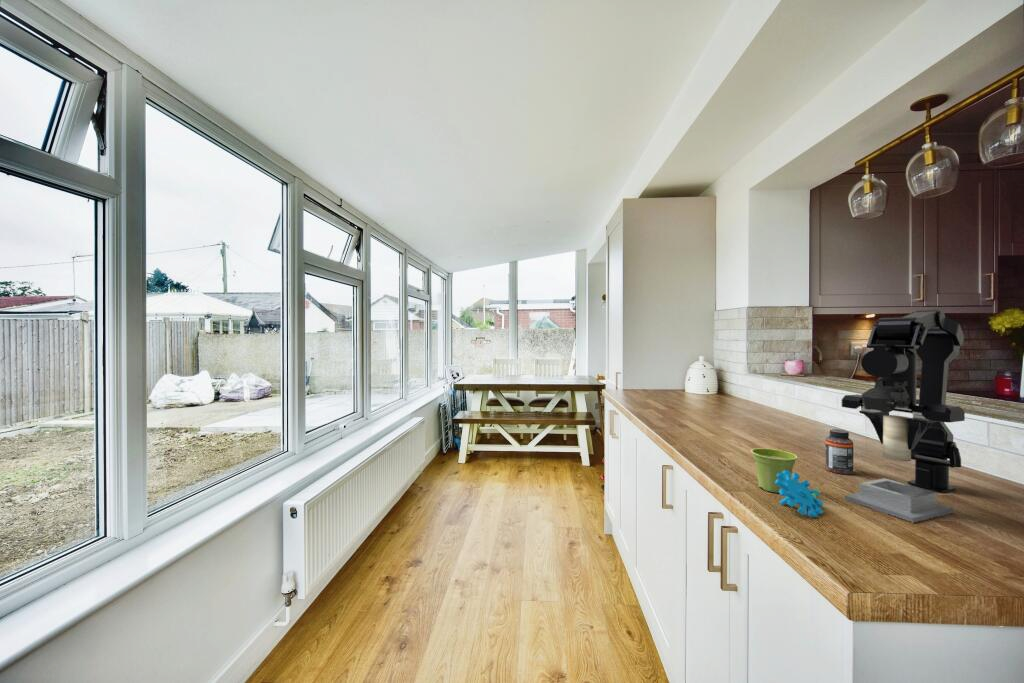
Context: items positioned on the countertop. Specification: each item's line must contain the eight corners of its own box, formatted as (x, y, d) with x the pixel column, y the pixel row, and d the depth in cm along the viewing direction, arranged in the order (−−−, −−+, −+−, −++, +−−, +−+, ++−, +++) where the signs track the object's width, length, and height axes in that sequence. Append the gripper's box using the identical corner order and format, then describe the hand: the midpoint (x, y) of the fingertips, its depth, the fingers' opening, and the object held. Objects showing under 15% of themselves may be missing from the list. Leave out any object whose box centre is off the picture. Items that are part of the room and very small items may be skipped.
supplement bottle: (828, 466, 112) (828, 426, 112) (855, 472, 108) (855, 430, 107) (822, 471, 108) (822, 430, 108) (850, 476, 104) (851, 434, 104)
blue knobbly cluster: (798, 514, 78) (770, 467, 85) (777, 525, 82) (752, 480, 89) (839, 515, 81) (809, 470, 88) (817, 526, 85) (789, 482, 92)
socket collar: (884, 491, 91) (884, 478, 91) (936, 506, 83) (936, 492, 83) (859, 496, 88) (859, 483, 88) (910, 513, 80) (911, 498, 80)
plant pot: (753, 479, 102) (754, 445, 102) (798, 487, 96) (798, 452, 96) (747, 489, 95) (747, 453, 95) (795, 500, 89) (796, 461, 89)
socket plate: (883, 491, 94) (883, 487, 94) (953, 512, 82) (953, 508, 82) (844, 499, 89) (844, 495, 89) (912, 523, 78) (912, 518, 78)
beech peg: (890, 454, 88) (890, 414, 88) (915, 460, 84) (916, 418, 84) (878, 456, 87) (878, 415, 87) (903, 462, 83) (903, 419, 83)
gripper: (826, 372, 92) (825, 439, 92) (933, 380, 74) (932, 463, 74) (857, 371, 95) (856, 435, 95) (966, 378, 78) (965, 457, 78)
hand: (896, 446), depth 86 cm, fingers closed on beech peg, 4 cm apart
